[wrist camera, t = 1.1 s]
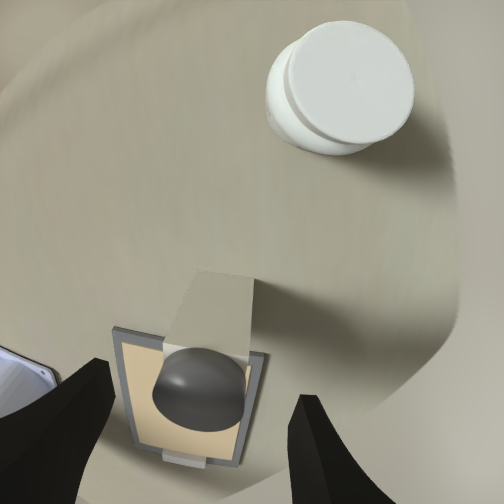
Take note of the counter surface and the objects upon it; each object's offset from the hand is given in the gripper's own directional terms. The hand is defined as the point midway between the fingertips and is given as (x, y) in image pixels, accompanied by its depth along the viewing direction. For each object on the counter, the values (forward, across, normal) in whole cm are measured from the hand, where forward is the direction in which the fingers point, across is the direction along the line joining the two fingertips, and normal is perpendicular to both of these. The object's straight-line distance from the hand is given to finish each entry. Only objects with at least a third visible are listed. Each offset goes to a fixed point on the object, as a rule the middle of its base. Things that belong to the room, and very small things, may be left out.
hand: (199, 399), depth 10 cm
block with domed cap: (+8, 0, 0) cm, 8 cm away
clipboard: (+8, +2, +11) cm, 14 cm away
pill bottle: (+8, -3, -11) cm, 14 cm away
